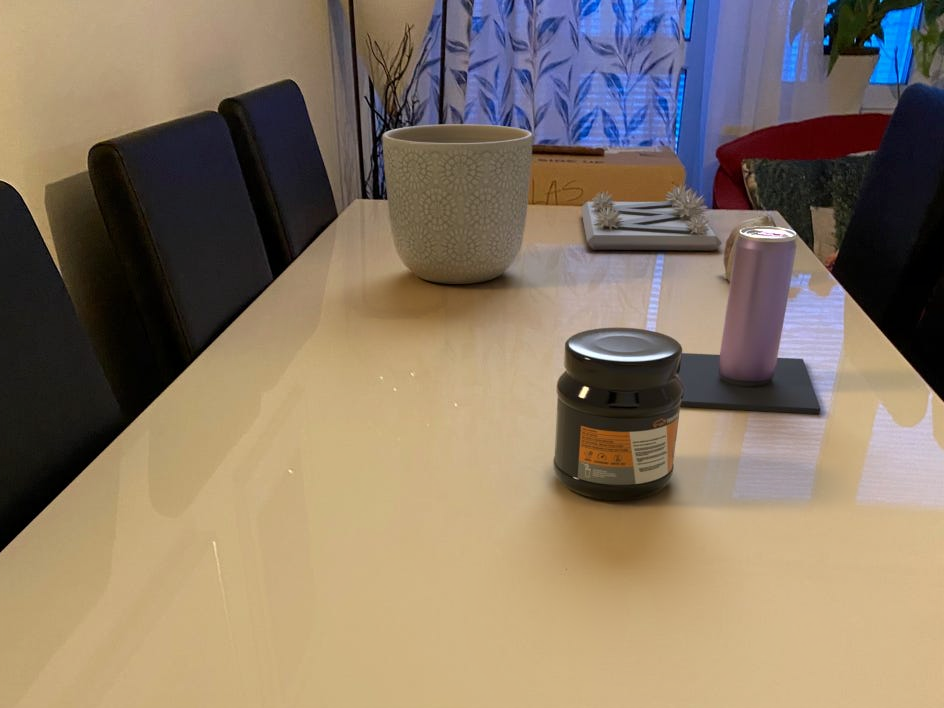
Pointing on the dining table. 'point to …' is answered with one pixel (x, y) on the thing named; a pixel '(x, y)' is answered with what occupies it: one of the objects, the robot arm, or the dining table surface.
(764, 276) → the beverage can
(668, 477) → the supplement container
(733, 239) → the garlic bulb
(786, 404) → the mat
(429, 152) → the planter
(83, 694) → the dining table surface
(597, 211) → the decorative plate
